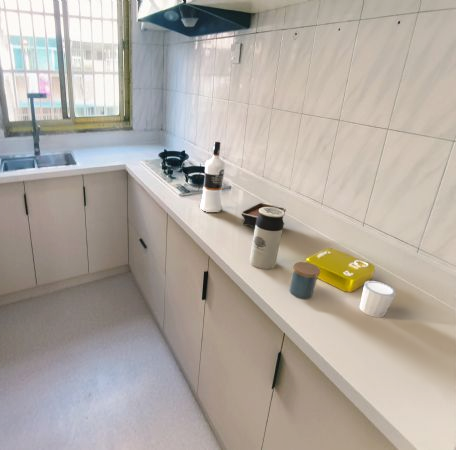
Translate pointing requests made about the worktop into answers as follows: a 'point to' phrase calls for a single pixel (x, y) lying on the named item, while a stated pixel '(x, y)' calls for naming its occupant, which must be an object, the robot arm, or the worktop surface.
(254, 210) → the baking dish
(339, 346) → the worktop surface
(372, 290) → the white cup
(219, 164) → the vodka
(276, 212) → the travel mug
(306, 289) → the salt pot
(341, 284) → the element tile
